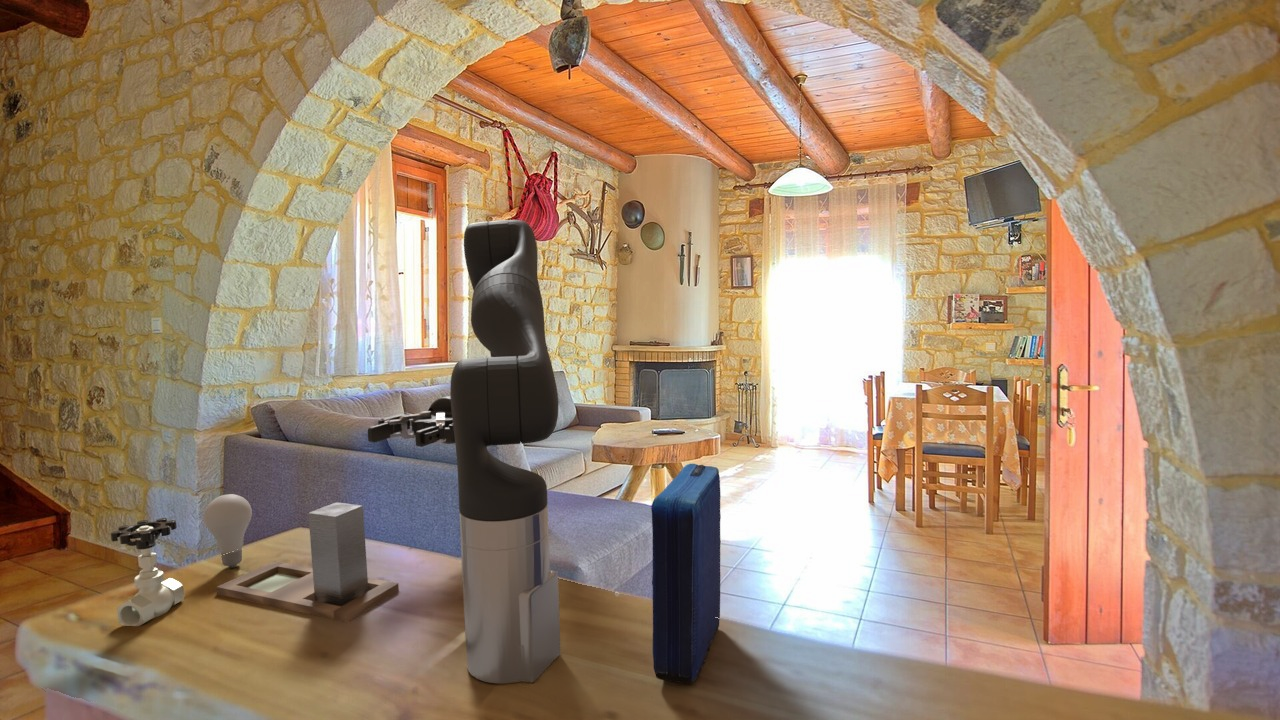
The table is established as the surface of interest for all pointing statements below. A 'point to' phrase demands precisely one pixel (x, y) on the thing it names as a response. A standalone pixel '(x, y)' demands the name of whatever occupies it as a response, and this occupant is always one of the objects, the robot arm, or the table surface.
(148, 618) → the valve
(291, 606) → the tray
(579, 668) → the table surface
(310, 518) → the metal block
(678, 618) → the blue case
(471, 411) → the robot arm
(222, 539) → the lightbulb
